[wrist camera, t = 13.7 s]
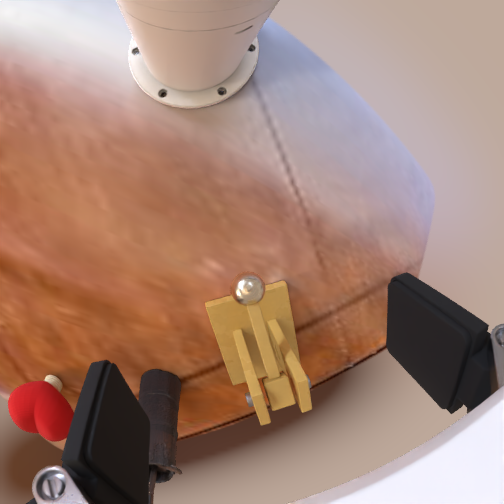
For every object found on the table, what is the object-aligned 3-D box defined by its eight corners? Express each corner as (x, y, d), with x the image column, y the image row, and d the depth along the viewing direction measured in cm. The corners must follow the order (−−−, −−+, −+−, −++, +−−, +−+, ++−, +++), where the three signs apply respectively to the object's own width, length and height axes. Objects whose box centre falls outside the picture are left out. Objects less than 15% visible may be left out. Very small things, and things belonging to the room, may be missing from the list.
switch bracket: (205, 302, 33) (215, 371, 22) (283, 279, 34) (326, 337, 23) (231, 379, 37) (249, 450, 26) (297, 359, 38) (332, 423, 27)
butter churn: (195, 345, 34) (233, 592, 8) (208, 400, 37) (248, 597, 11) (122, 353, 33) (91, 584, 6) (143, 406, 36) (143, 599, 10)
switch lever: (226, 278, 29) (226, 274, 26) (258, 270, 30) (261, 264, 27) (264, 404, 27) (267, 414, 24) (295, 394, 27) (302, 403, 24)
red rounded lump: (85, 370, 32) (66, 426, 23) (86, 404, 34) (72, 457, 25) (25, 349, 30) (-5, 397, 20) (30, 385, 31) (7, 432, 22)
